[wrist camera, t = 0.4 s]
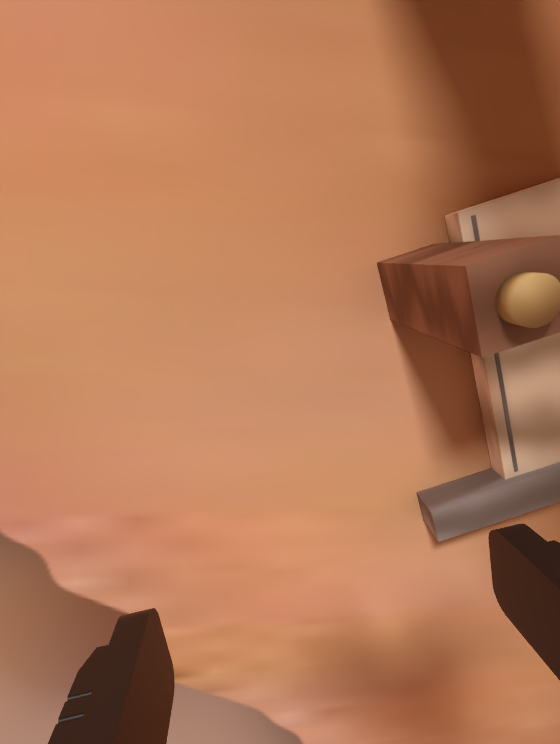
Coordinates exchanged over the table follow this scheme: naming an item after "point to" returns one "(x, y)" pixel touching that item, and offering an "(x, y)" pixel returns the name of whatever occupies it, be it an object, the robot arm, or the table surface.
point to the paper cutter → (508, 391)
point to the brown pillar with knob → (477, 292)
